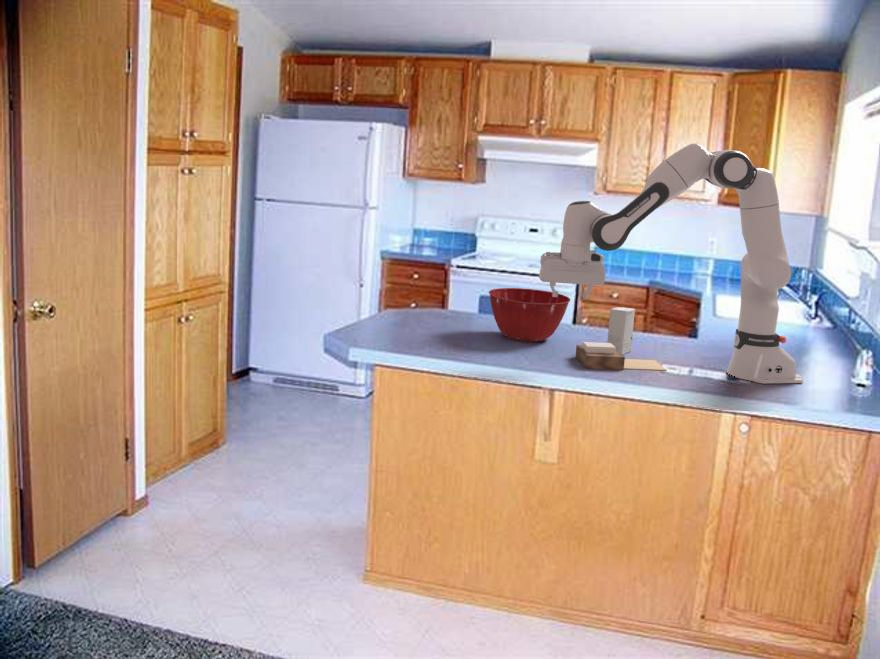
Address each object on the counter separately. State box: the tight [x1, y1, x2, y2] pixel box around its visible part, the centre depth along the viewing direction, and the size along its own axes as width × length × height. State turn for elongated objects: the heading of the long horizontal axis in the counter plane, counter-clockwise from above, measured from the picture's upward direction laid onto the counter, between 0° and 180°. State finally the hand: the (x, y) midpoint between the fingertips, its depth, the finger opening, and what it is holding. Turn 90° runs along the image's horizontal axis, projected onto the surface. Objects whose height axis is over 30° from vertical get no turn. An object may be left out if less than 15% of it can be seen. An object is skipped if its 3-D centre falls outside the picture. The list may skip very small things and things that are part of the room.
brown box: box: [575, 344, 626, 371], centre depth 276 cm, size 12×14×4 cm
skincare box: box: [606, 306, 636, 356], centre depth 293 cm, size 8×6×15 cm
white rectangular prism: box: [582, 341, 616, 354], centre depth 276 cm, size 9×6×2 cm, turn 94°
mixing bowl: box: [488, 287, 571, 343], centre depth 305 cm, size 28×28×16 cm
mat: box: [624, 358, 667, 371], centre depth 278 cm, size 14×12×1 cm
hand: (569, 297), depth 272 cm, fingers open, 8 cm apart
